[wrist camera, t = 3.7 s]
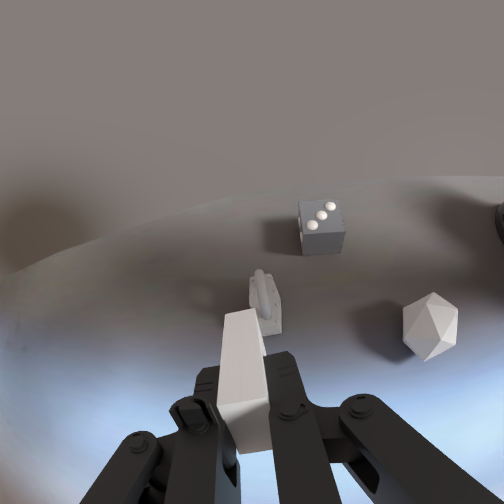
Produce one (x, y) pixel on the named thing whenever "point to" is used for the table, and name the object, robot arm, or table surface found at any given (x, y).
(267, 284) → the padlock
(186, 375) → the table surface
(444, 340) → the die
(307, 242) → the dotted block
